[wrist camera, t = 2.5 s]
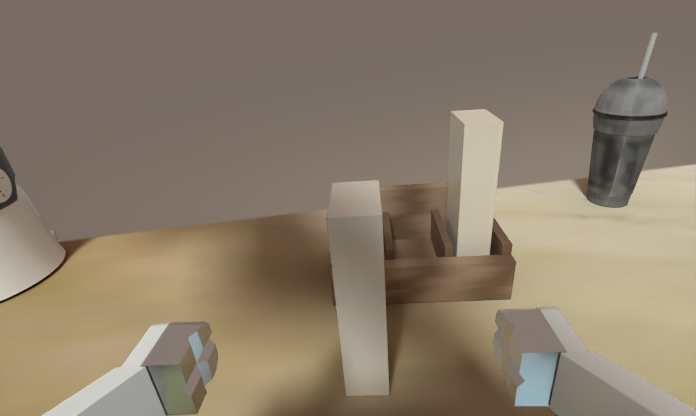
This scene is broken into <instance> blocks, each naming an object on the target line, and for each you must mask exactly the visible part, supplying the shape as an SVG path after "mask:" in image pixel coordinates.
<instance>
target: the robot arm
mask: <svg viewBox="0 0 696 416" xmlns="http://www.w3.org/2000/svg"><path fill="white" fill-rule="evenodd" d="M9 162H10V161H9V159H8V157H7V156H6V155H5V154H4V152H3V150H2V148H1V147H0V301H2V300H4V299H6V298H9V297H11V296H13V295H15V294H17V293H19V292H21V291H23V290H25V289H27V288H29V287H30V286H32V285H34V284H35V283H37V282H39V281H40V280H42V279H43V278H45V277H46V276H47V275H49V274H50V273H51V272H53V271H54V270H55V269H56V268H57V267H58V266H59V265H60V264H61V263H62V261H63V260H64V258H65V254H66V252H65V249H64V248H63V247H62V246H61V245H60V244H59V243H58V242H57V239H58V237H57V235H56V234H55V232H54V231H53V230H48V228H47V227H46V225H45V223H44V222H43V220H42V219H41V217H40V216H39V214H38V212H37V211H36V209H35V208H34V206H33V205H32V203H31V202H30V200H29V198H28V197H27V195H26V194H25V192H24V191H23V190H22V188H20V187H19V186H17V185H16V184H15V173H14V171H13V169H12V167H11V165H10V163H9ZM495 322H496V324H497V326H498V328H499V329H498V330H497V331H496V332H495V333H494V342H493V345H494V354H495V358H496V361H497V364H498V367H499V369H500V370H501V371H502V372H503V373H505V374H506V382H505V384H506V387H507V389H508V391H509V394H510V396H511V399H512V401H513V404H514V406H549V408H550V409H551V410H552V411H553V412H554V413H555V414H556V415H557V416H696V410H695V409H693V408H692V407H690V406H688V405H686V404H685V403H683V402H681V401H680V400H678V399H676V398H674V397H673V396H671V395H669V394H667V393H666V392H664V391H662V390H661V389H659V388H657V387H655V386H654V385H652V384H650V383H649V382H647V381H645V380H643V379H642V378H640V377H638V376H637V375H635V374H633V373H631V372H630V371H628V370H626V369H625V368H623V367H621V366H619V365H618V364H616V363H614V362H613V361H611V360H609V359H607V358H606V357H604V356H602V355H601V354H599V353H597V352H589V350H588V349H587V347H586V346H585V345H584V343H583V342H582V341H581V339H580V338H579V336H578V335H577V334H576V332H575V331H574V329H573V328H572V327H571V325H570V324H569V322H568V321H567V320H566V318H565V317H564V315H563V314H562V313H561V311H560V310H559V309H558V308H557V307H539V308H527V309H506V310H498V311H497V313H496V320H495ZM211 333H212V331H211V329H210V326H209V323H206V322H173V323H155V324H153V325H152V326H150V328H149V329H148V331H147V332H146V333H145V335H144V336H143V337H142V339H141V340H140V342H139V343H138V344H137V346H136V347H135V349H134V350H133V351H132V353H131V354H130V355H129V357H128V358H127V360H126V361H125V362H124V364H123V365H122V367H117V368H114V369H113V370H111V371H110V372H108V373H106V374H105V375H103V376H102V377H100V378H99V379H97V380H96V381H94V382H93V383H91V384H90V385H88V386H86V387H85V388H83V389H82V390H80V391H79V392H77V393H76V394H74V395H73V396H71V397H70V398H68V399H66V400H65V401H63V402H62V403H60V404H59V405H57V406H56V407H54V408H53V409H51V410H50V411H48V412H46V413H45V414H43V415H42V416H167V415H186V414H198V411H199V409H200V407H201V404H202V402H203V400H204V398H205V395H206V393H207V391H206V388H205V385H206V384H207V383H208V382H209V381H210V380H211V379H213V377H214V374H215V372H216V369H217V362H218V352H217V348H216V344H215V343H213V342H212V341H211V340H210V339H209V337H210V335H211Z"/></svg>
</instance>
